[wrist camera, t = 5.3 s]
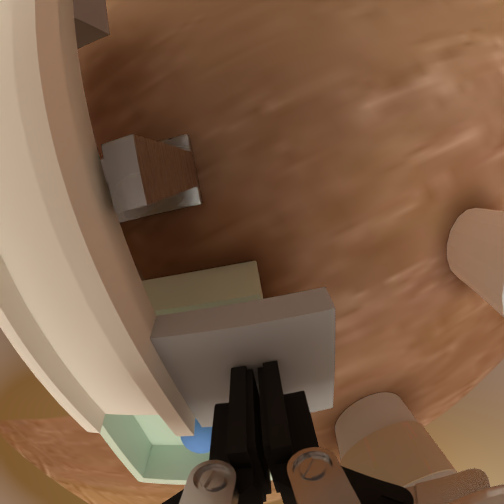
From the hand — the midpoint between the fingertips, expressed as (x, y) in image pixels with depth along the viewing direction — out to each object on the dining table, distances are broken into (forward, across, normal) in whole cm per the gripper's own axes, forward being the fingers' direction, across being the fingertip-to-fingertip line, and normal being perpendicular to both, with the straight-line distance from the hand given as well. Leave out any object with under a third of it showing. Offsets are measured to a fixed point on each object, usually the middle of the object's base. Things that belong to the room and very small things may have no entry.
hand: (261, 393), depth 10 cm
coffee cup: (+9, -8, +14) cm, 19 cm away
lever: (+3, +3, -9) cm, 9 cm away
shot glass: (+9, -17, 0) cm, 19 cm away
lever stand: (+9, +6, -8) cm, 14 cm away
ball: (+6, +6, +10) cm, 13 cm away
